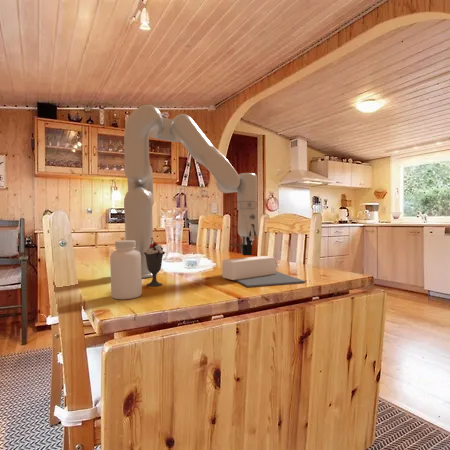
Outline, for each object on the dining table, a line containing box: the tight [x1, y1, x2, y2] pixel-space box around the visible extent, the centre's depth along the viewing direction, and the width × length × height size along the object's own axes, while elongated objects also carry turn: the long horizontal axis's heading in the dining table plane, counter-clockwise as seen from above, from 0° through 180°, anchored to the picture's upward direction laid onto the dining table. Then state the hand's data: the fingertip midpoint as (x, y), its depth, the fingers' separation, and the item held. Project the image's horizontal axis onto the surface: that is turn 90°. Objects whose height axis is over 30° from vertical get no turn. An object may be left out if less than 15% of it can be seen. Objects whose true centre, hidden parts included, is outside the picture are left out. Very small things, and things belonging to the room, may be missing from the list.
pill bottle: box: [109, 239, 143, 300], centre depth 90 cm, size 8×8×15 cm
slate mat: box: [233, 270, 306, 288], centre depth 113 cm, size 20×20×1 cm
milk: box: [221, 255, 280, 281], centre depth 118 cm, size 6×6×22 cm
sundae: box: [144, 237, 166, 288], centre depth 104 cm, size 7×7×15 cm
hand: (247, 254), depth 126 cm, fingers closed
